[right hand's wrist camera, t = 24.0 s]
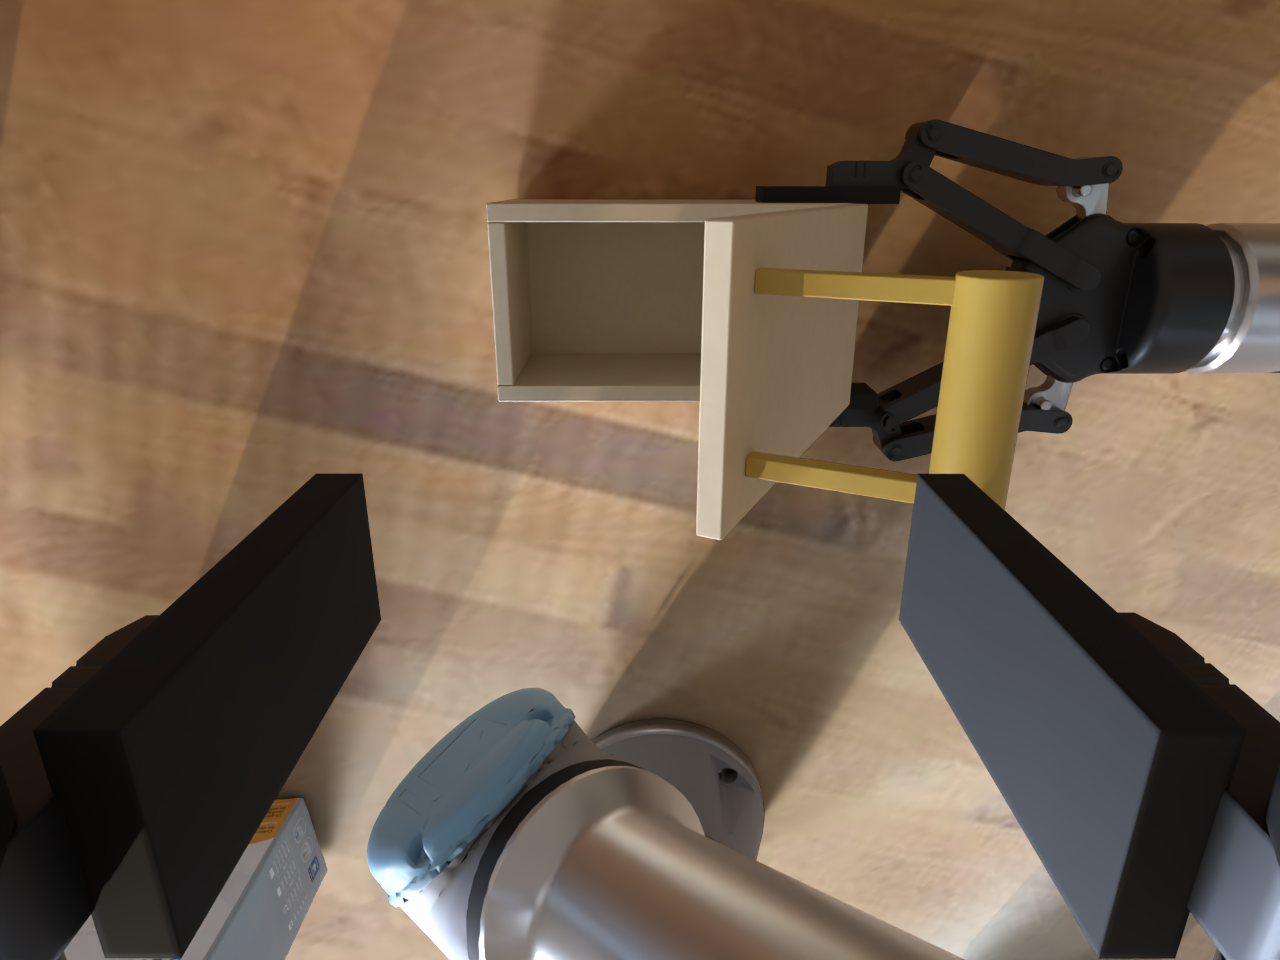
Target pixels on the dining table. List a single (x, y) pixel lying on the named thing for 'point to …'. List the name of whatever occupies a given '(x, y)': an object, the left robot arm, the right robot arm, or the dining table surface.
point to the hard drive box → (250, 895)
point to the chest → (602, 295)
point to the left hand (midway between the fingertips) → (754, 299)
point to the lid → (840, 360)
